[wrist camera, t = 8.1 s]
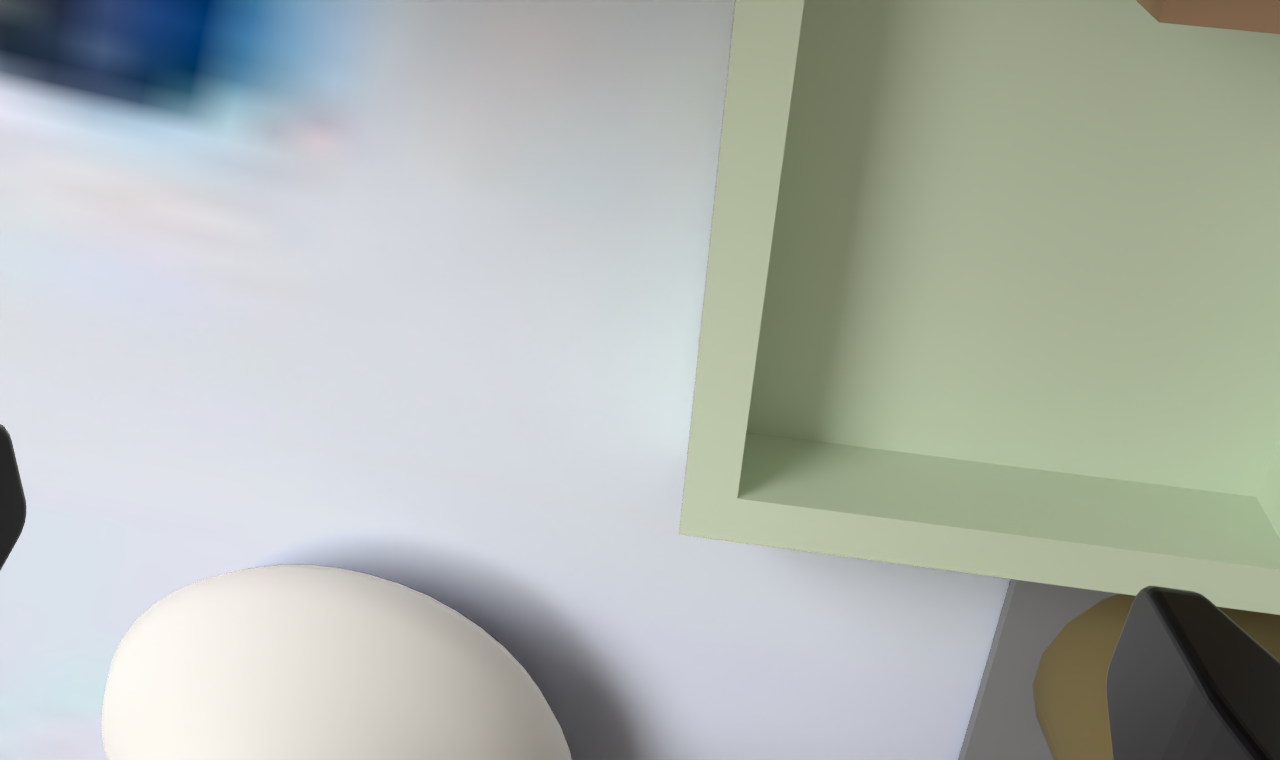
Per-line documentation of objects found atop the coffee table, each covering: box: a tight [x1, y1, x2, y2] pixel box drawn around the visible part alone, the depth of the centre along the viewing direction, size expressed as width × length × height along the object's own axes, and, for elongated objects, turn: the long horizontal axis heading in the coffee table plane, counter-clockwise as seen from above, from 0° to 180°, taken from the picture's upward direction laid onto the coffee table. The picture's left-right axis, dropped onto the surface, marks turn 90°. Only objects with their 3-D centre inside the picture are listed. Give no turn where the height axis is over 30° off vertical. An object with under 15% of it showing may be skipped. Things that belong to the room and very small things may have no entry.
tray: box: [679, 0, 1280, 615], centre depth 19 cm, size 16×12×3 cm
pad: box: [959, 579, 1119, 760], centre depth 26 cm, size 8×8×1 cm
